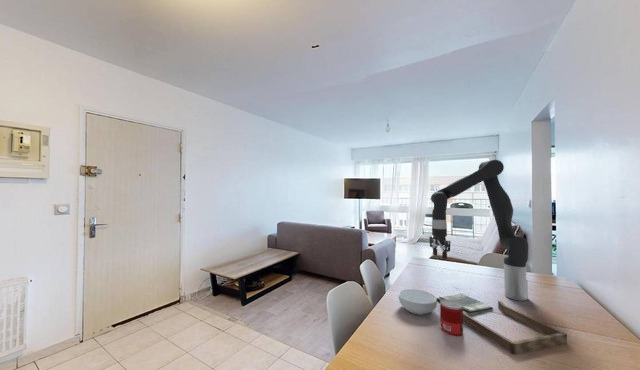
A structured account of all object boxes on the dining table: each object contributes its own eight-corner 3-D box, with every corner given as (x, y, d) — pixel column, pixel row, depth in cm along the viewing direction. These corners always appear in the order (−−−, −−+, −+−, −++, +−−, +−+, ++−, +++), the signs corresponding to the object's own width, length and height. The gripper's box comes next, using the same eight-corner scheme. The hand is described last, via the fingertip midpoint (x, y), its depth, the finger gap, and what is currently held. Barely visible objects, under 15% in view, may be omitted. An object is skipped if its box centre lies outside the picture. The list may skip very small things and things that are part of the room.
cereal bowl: (434, 305, 119) (434, 291, 119) (439, 322, 104) (439, 306, 104) (398, 300, 125) (398, 286, 125) (398, 316, 109) (398, 300, 109)
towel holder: (499, 307, 117) (499, 300, 117) (571, 342, 90) (571, 333, 90) (447, 315, 109) (447, 307, 110) (508, 355, 82) (507, 345, 82)
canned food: (466, 337, 93) (465, 308, 93) (443, 335, 94) (443, 306, 95) (458, 326, 100) (458, 300, 101) (438, 324, 102) (437, 298, 102)
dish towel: (461, 296, 131) (461, 290, 131) (494, 311, 114) (493, 304, 114) (434, 301, 125) (434, 294, 125) (464, 318, 108) (464, 310, 108)
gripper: (454, 229, 130) (455, 260, 129) (435, 225, 144) (436, 253, 143) (443, 229, 128) (443, 261, 127) (425, 225, 142) (425, 254, 141)
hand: (439, 256), depth 135 cm, fingers open, 6 cm apart
